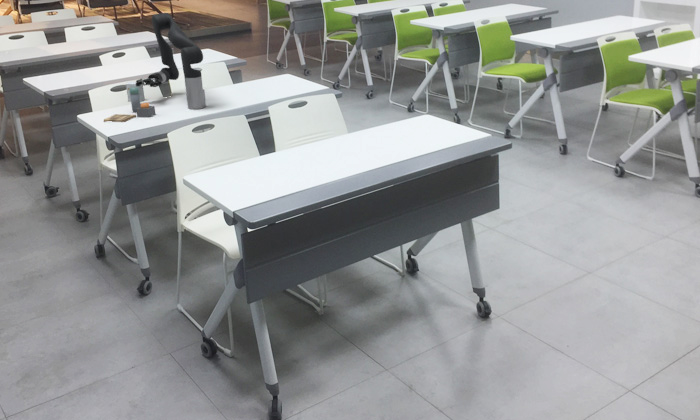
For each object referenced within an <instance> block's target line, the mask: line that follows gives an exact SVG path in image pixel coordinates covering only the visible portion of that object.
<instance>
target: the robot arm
mask: <svg viewBox="0 0 700 420" xmlns="http://www.w3.org/2000/svg"><path fill="white" fill-rule="evenodd" d="M151 24H152V27H153V31H154V35H155V38H156V42H157V44H158V48H159V52H160V58H161V59H160V60H161V63H162V65H164V66H167V67H162V68H161V69H160V71H157V72H153V73H151V74H149V75H148V76H147V78H139V79H138V80H135V82H136V86H140V85H143V87H145V86H149V87H150V88H157V87H161V86H162V85H163V84H165V83H166V82H168V81H171V80H172V81H177V80H178V79H179V76H180V72H179V68H178V65H176V61H175V59H174V53H173V49H172V47H171V46H170V44H171V45H172V46H174V47H175V48H177V49H178V50H180V58H181V65H182V71H183V75H184V76H183V77H184V84H185V85H184V86H185V93H186V103H187V109H189V110H199V109H204V108H206V107H207V102H206V92H205V89H204V87H203V78H202V71H201V70H199V69H195V68H193V67H192V66H191V65H195V64H196V65H197V64H201V63H202V62H203V59H204V54H203V51H202V49H201V48H200V47H199V46H198V45H197V44H196V43H194V42H193V40H191V39H190V38H189V37H188V36H187V34H186V33H185V32H184V31H183V30H182V29H181V28H180V27H179V25H178V24H177V23H176V21H175V20H174V17H172V15H171V14H170V13H169V12H162V13H156V14H153V15H152V16H151ZM164 30H168V32H167V38H168V41H169V42H170V44H169V43H168V42H167V40H166V39H165V38H164V37H163V35H162V32H161V31H164Z"/></svg>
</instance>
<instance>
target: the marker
mask: <svg viewBox="0 0 700 420" xmlns="http://www.w3.org/2000/svg"><path fill="white" fill-rule="evenodd" d="M129 92H130V97H131V101H130V103H131V110H132V111H133V112H132V113H137V111H136V108H139V107H141V101H140V96H139V88H138V87H131V88H129Z"/></svg>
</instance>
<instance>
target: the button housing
mask: <svg viewBox="0 0 700 420" xmlns="http://www.w3.org/2000/svg"><path fill="white" fill-rule="evenodd" d="M136 111H137V112H136V117H137V118H151V117H153V116H154V115H156V106H155V105H149V108H141V107H139V108H136Z"/></svg>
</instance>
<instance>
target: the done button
mask: <svg viewBox="0 0 700 420" xmlns="http://www.w3.org/2000/svg"><path fill="white" fill-rule="evenodd" d="M140 104H141V108H149V106H150V103H149V102H142V103H141V102H140Z"/></svg>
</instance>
